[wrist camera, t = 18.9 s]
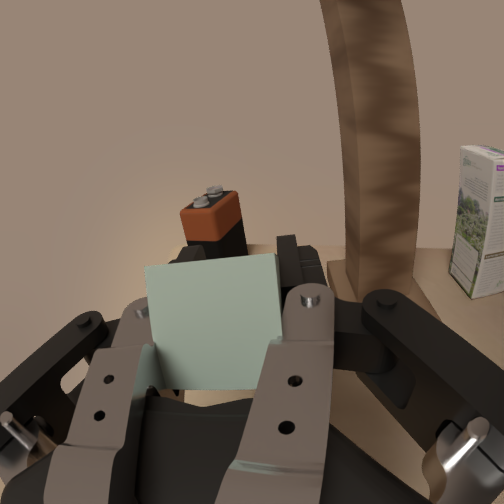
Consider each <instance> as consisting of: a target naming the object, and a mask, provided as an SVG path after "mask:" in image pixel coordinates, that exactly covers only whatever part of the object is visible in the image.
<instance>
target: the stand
mask: <svg viewBox="0 0 504 504" xmlns="http://www.w3.org/2000/svg"><path fill="white" fill-rule="evenodd" d="M320 3H321V9H322V13H323V18H324V23H325V28H326V33H327V39H328V44H329V50H330V56H331V62H332V68H333V75H334V82H335V90H336V98H337V106H338V115H339V124H340V134H341V147H342V160H343V175H344V194H345V228H346V259H344V260H335V261H327V278H328V282H329V285H330V288H331V290H332V291H333V293H334V296H335V297H337V298H339V299H341V300H344V301H349V302H359V303H362V301H363V298H364V297H365V296H366V295H367V294H368V293H370V292H371V291H374V290H378V289H391V290H395V291H398V292H400V293H402V294H404V295H405V296H406V297H408V298H409V299H411V300H412V301H413V302H415V303H416V304H417V305H419V306H420V307H422V308H423V309H424V310H426V311H427V312H428V313H430V314H431V315H433V316H434V317H435V318H437V319H438V320H439V321H441V319H440V318H439V316H438V315H437V313H436V311H435V310H434V308H433V307H432V305H431V304H430V302H429V301H428V299H427V298H426V296H425V294H424V293H423V291H422V290H421V288H420V287H419V286H418V284H417V283H416V281H415V280H414V278H413V277H412V272H413V265H414V258H415V249H416V240H417V229H418V218H419V202H420V169H421V168H420V167H421V165H420V164H421V161H420V160H421V155H420V124H419V109H418V97H417V87H416V78H415V70H414V64H413V57H412V51H411V45H410V39H409V35H408V30H407V25H406V20H405V16H404V11H403V7H402V3H401V0H320ZM441 322H442V321H441Z"/></svg>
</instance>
